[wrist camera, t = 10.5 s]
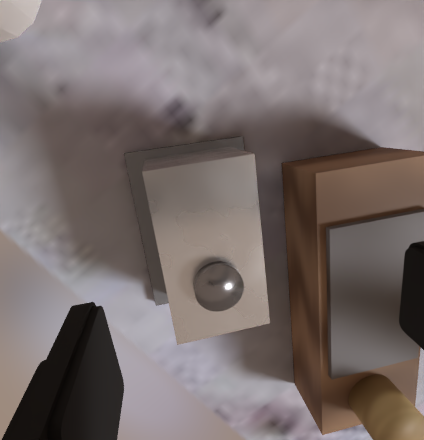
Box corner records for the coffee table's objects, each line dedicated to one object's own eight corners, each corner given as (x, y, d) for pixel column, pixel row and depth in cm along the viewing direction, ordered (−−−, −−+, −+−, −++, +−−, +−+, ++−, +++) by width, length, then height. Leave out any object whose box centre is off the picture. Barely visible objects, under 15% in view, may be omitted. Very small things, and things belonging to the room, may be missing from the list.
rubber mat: (124, 153, 18) (123, 153, 18) (240, 136, 19) (243, 136, 19) (155, 301, 21) (155, 305, 21) (254, 281, 22) (257, 284, 22)
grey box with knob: (145, 159, 18) (141, 174, 13) (229, 146, 19) (258, 155, 14) (172, 295, 21) (178, 352, 16) (244, 279, 22) (273, 330, 16)
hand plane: (281, 163, 20) (350, 183, 13) (381, 147, 21) (495, 158, 14) (294, 383, 26) (347, 481, 19) (373, 364, 27) (452, 450, 20)
